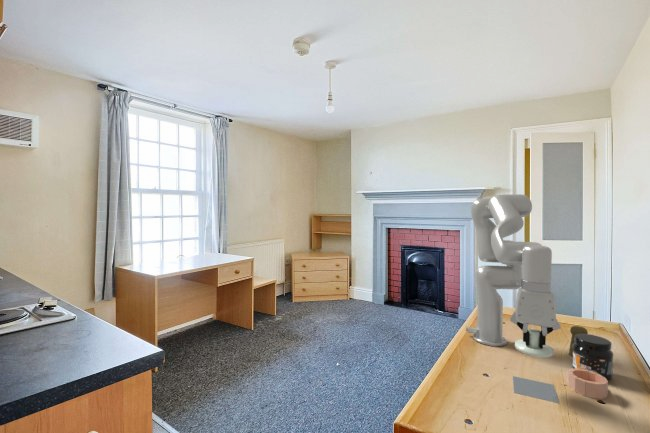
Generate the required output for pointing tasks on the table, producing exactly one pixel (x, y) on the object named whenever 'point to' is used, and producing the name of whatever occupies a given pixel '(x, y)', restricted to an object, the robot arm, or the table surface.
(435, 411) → the table surface
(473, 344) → the table surface
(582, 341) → the supplement container
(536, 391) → the mat
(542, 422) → the table surface
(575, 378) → the bowl
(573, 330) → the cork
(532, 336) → the lid
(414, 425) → the table surface
